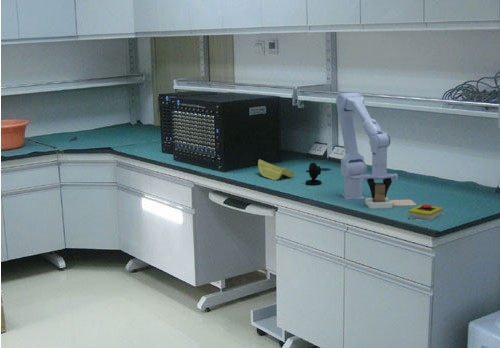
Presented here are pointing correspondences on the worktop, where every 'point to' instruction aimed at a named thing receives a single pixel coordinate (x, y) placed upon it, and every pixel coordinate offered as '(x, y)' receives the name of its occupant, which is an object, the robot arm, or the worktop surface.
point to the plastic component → (273, 170)
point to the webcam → (313, 174)
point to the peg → (379, 192)
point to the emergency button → (425, 212)
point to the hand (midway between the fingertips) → (378, 197)
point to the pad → (402, 202)
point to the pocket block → (378, 203)
